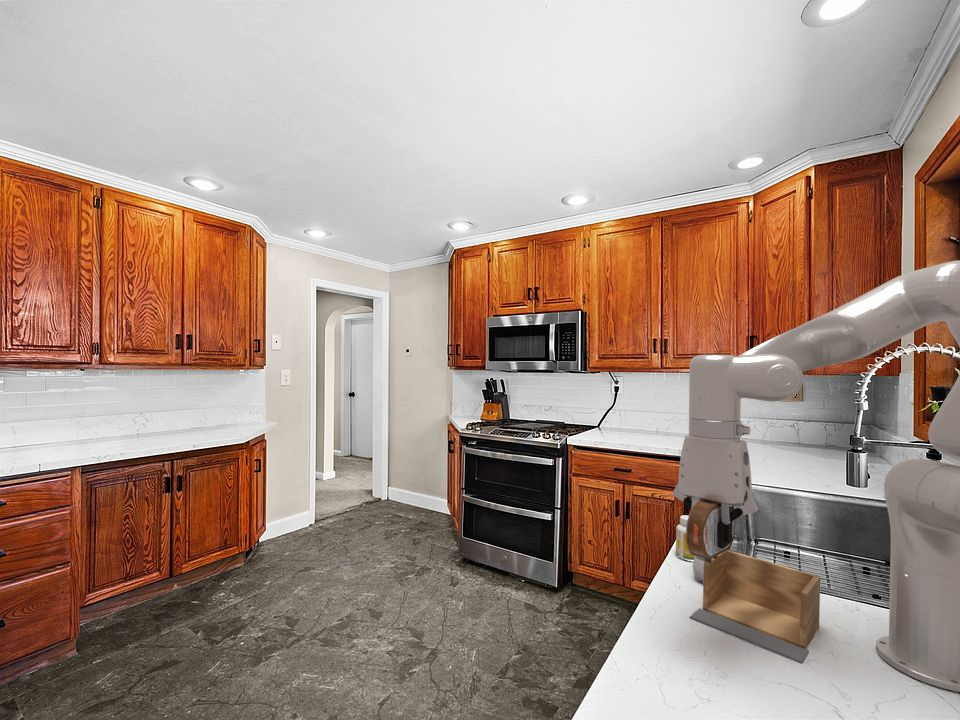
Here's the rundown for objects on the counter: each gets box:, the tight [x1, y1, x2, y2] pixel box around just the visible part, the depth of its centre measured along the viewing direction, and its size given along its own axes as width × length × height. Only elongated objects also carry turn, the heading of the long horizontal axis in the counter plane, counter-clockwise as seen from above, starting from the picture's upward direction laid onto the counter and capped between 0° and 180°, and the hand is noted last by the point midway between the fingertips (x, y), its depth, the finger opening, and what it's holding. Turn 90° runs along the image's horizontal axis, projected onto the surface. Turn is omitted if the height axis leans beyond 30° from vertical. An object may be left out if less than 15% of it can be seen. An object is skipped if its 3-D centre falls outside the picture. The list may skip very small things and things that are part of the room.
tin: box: [686, 500, 736, 559], centre depth 76 cm, size 15×3×8 cm, turn 134°
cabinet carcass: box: [702, 549, 821, 650], centre depth 85 cm, size 16×10×10 cm, turn 44°
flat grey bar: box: [689, 608, 810, 664], centre depth 79 cm, size 17×4×1 cm, turn 44°
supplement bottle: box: [675, 514, 695, 560], centre depth 112 cm, size 5×5×10 cm
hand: (712, 542), depth 76 cm, fingers closed on tin, 2 cm apart
